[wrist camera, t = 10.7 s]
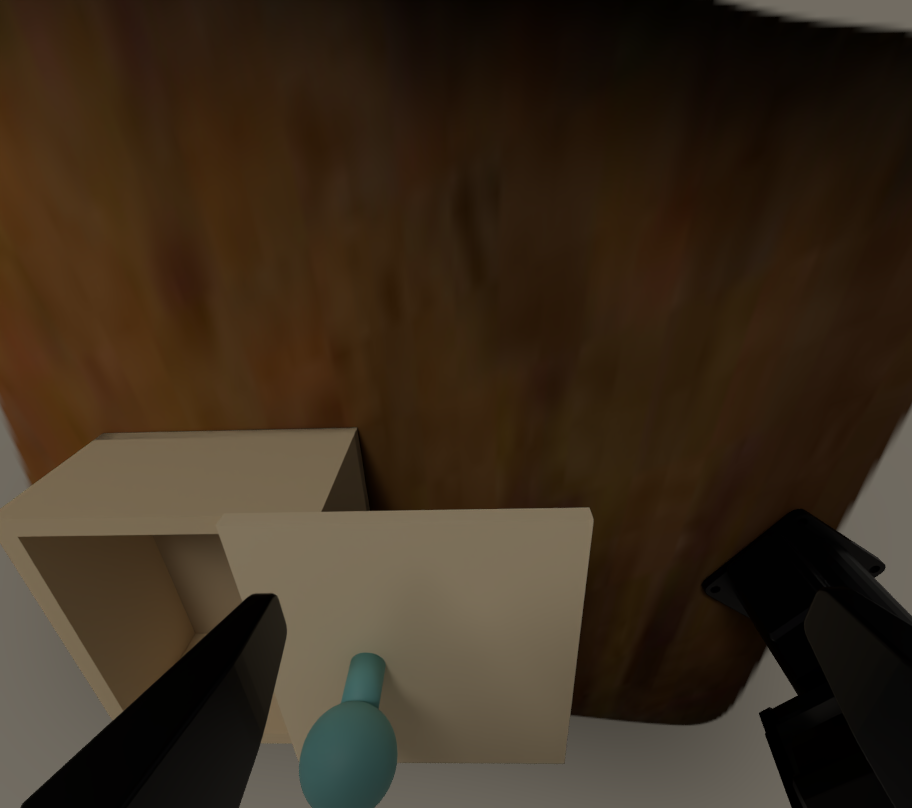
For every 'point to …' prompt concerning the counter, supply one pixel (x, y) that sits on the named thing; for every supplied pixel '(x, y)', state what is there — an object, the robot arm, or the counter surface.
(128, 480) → the carton
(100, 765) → the robot arm
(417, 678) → the carton lid
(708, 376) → the counter surface
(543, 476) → the counter surface
